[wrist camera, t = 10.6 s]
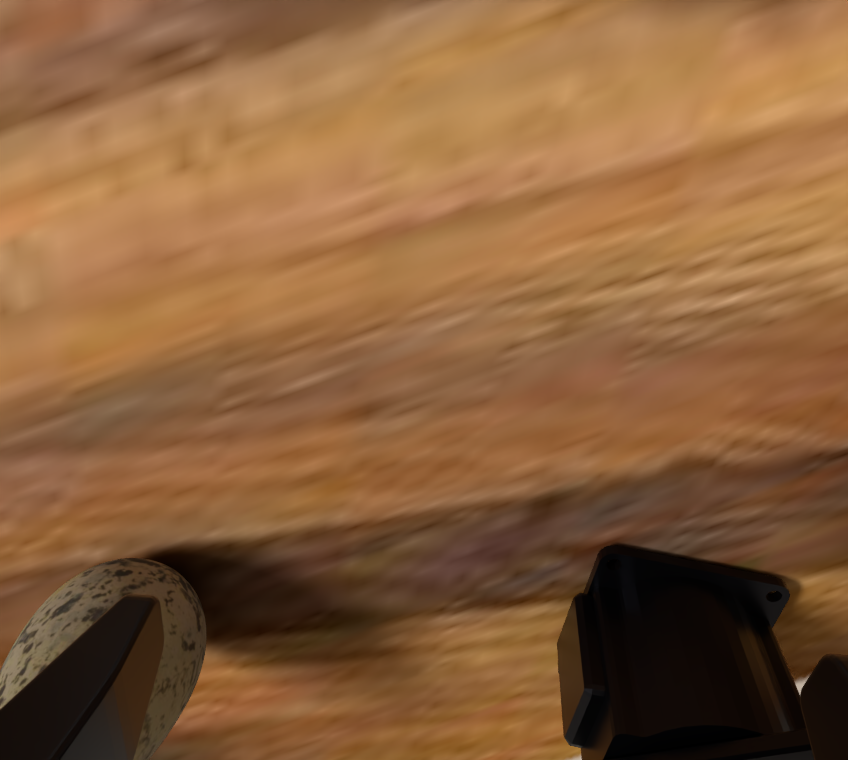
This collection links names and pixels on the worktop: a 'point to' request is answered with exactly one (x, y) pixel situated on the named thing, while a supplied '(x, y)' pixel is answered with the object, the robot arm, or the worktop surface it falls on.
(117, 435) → the worktop surface
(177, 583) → the decorative egg
